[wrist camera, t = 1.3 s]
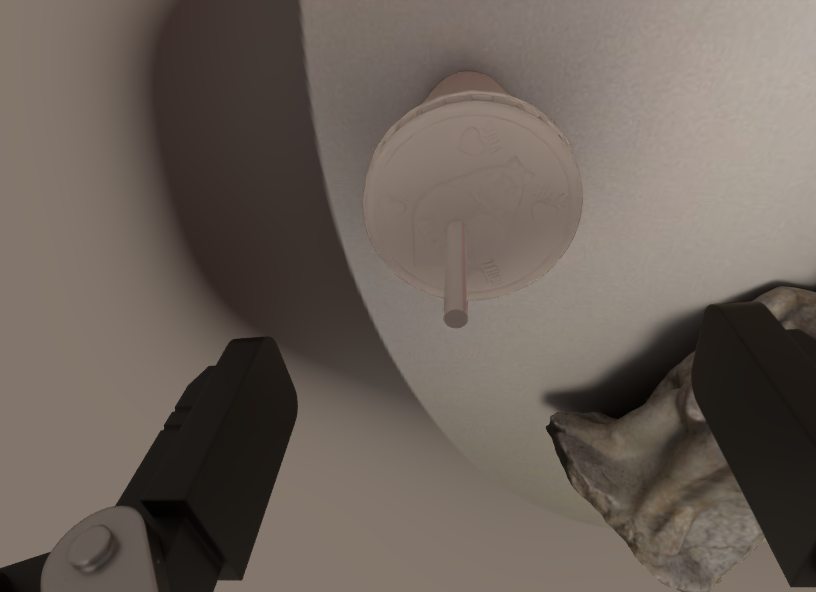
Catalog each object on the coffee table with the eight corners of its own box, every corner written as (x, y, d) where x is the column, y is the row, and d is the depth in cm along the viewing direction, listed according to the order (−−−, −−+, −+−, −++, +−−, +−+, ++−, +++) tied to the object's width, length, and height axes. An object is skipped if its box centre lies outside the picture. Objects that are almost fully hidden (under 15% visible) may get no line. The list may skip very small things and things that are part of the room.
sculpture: (752, 169, 28) (941, 297, 27) (545, 391, 35) (689, 499, 34) (857, 179, 18) (1170, 387, 17) (535, 490, 25) (740, 650, 24)
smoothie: (365, 119, 23) (273, 304, 11) (467, -3, 20) (478, 85, 8) (465, 208, 25) (471, 438, 14) (571, 111, 22) (692, 305, 11)
